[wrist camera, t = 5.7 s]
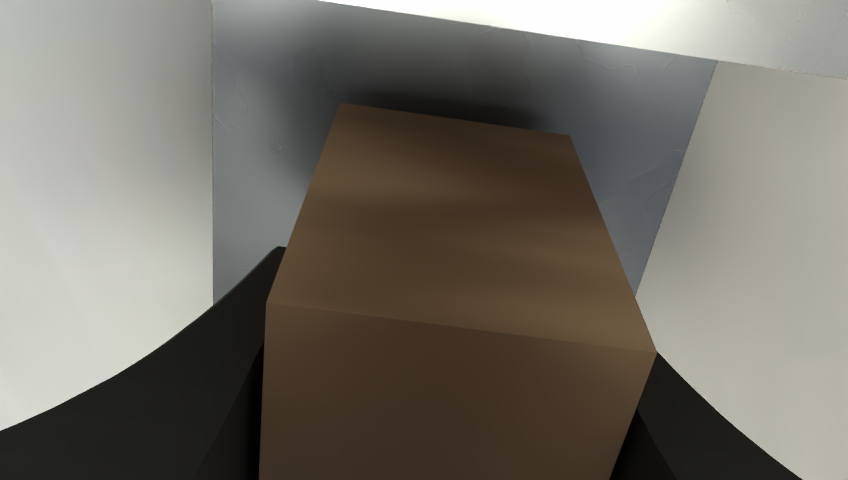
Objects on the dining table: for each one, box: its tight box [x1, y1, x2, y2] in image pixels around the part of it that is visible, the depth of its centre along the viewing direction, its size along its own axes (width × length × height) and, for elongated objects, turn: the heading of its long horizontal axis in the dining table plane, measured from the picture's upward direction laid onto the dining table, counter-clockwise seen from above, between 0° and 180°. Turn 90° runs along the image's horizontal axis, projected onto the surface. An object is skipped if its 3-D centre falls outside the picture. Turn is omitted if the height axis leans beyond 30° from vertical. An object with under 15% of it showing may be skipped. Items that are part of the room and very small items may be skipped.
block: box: [259, 103, 657, 480], centre depth 11 cm, size 4×5×6 cm
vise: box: [212, 0, 848, 305], centre depth 16 cm, size 9×22×5 cm, turn 172°
